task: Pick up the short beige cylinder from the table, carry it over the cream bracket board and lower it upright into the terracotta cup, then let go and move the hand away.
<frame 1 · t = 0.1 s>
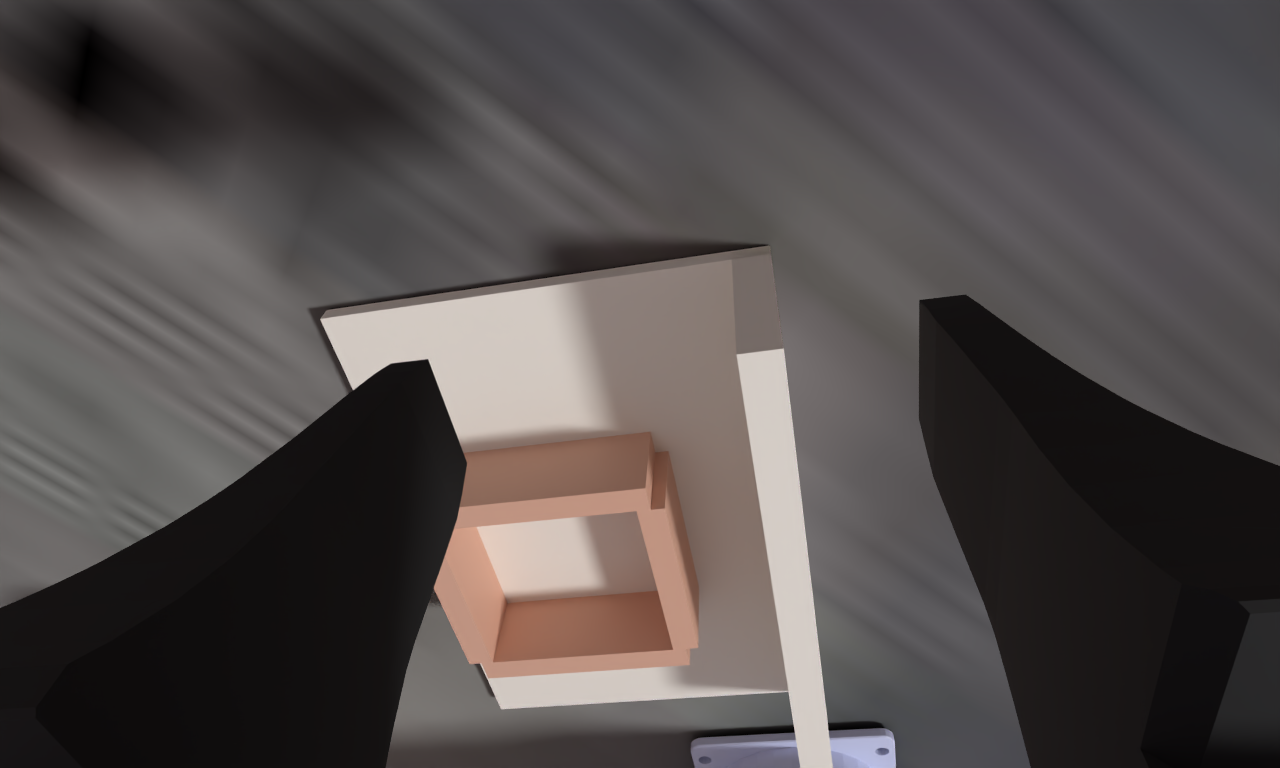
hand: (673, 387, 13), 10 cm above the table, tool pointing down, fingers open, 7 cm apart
cup bracket: (571, 523, 28), on the table
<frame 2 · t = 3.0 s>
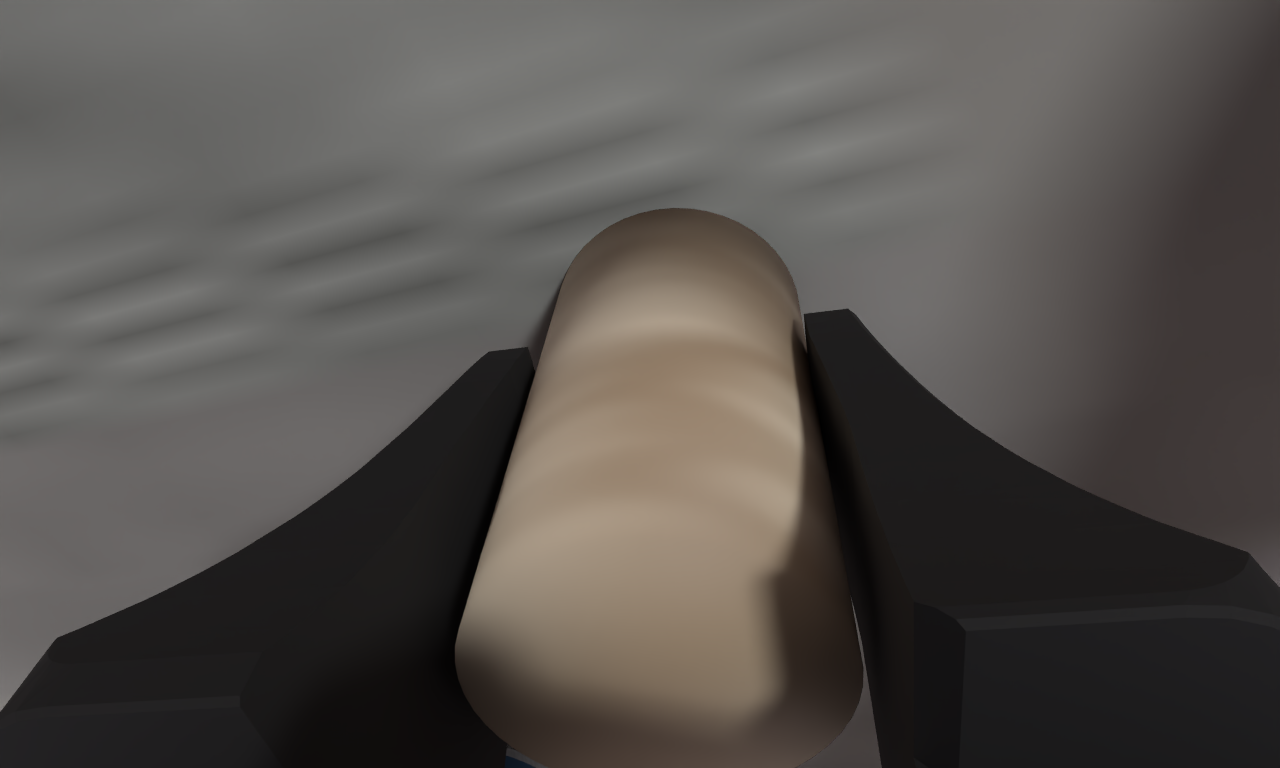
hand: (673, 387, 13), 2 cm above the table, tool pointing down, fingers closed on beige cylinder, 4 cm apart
beige cylinder: (677, 321, 14), on the table, touching gripper
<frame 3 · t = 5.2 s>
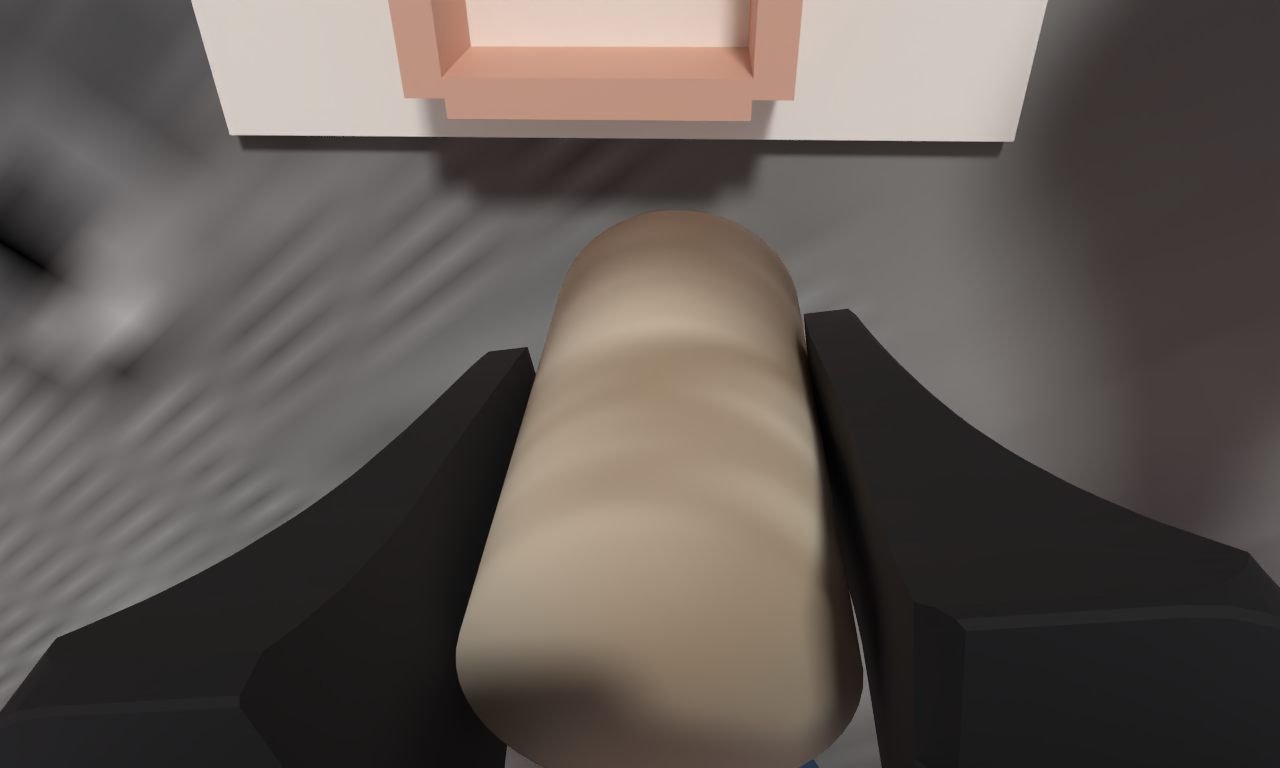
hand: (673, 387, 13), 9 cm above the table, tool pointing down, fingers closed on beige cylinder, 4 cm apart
beige cylinder: (677, 322, 14), point 7 cm above the table, touching gripper
when the fingers open (5 cm above the table, at t = 7.6 s): beige cylinder drops 2 cm, resting on cup bracket.
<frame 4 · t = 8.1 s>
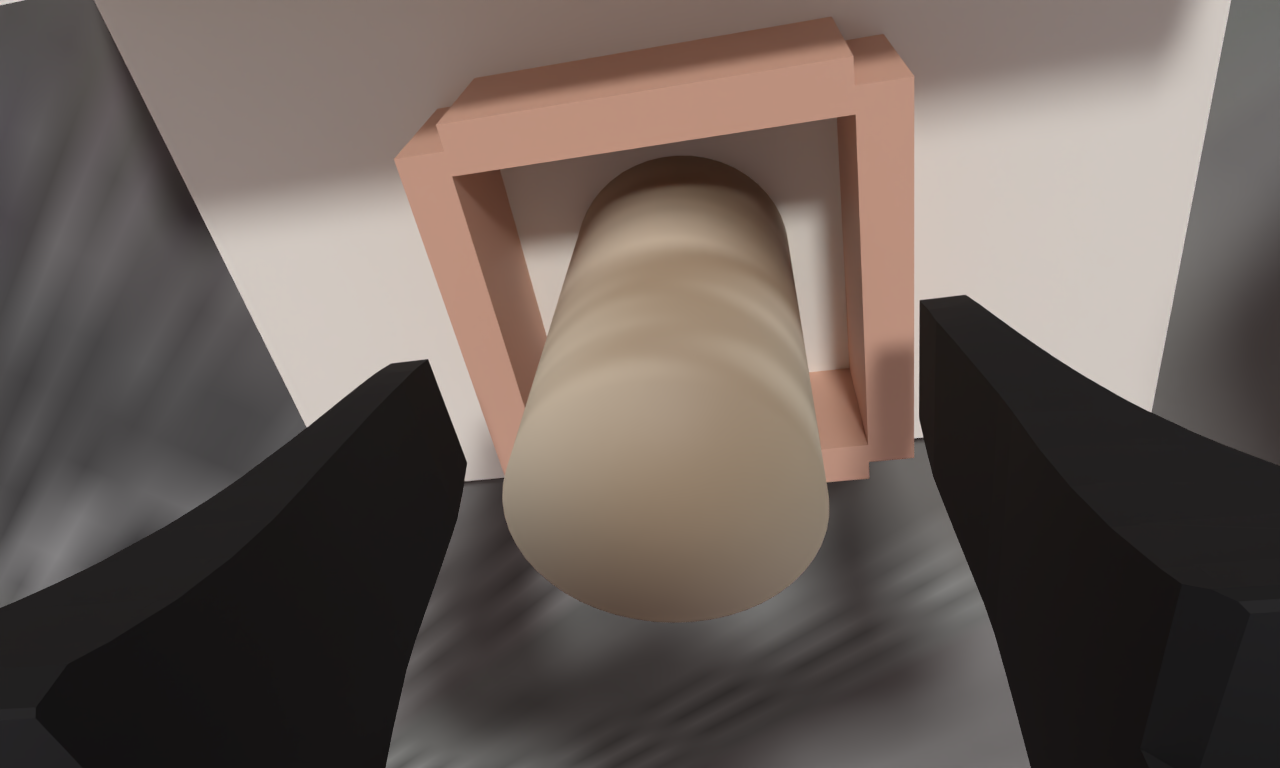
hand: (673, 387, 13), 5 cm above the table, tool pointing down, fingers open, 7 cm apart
cup bracket: (682, 243, 17), on the table
beige cylinder: (682, 257, 16), point 1 cm above the table, touching cup bracket
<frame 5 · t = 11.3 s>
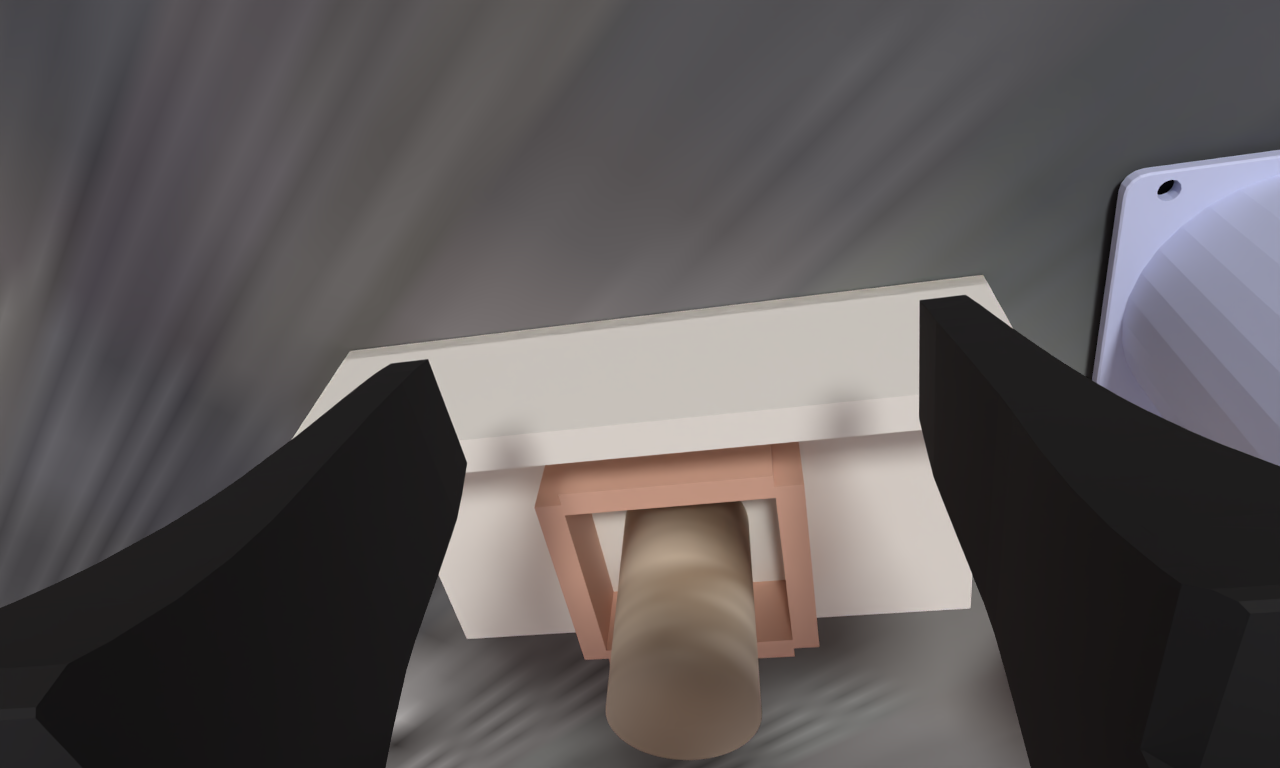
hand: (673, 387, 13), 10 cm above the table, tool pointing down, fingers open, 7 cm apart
cup bracket: (686, 511, 28), on the table
beige cylinder: (686, 524, 28), point 1 cm above the table, touching cup bracket
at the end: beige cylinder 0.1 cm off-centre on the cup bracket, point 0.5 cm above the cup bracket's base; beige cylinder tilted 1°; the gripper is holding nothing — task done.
